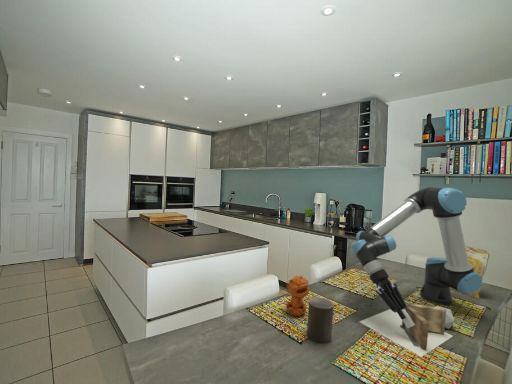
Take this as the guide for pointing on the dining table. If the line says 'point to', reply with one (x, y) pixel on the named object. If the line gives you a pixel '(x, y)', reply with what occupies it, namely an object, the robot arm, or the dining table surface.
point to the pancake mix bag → (477, 263)
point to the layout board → (402, 332)
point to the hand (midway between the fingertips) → (411, 326)
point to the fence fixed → (431, 317)
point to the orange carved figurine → (297, 295)
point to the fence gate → (418, 327)
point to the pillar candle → (320, 320)
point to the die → (448, 318)
